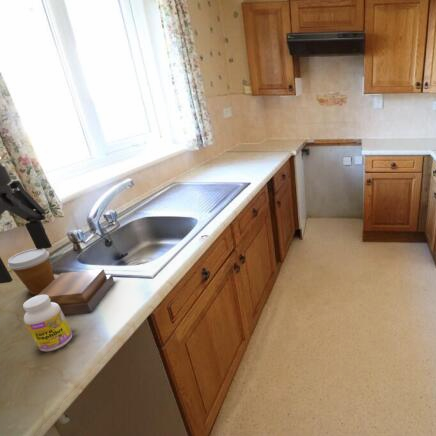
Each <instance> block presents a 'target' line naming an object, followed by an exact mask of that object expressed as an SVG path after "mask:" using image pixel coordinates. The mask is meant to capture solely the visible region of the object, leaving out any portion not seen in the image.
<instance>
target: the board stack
mask: <svg viewBox="0 0 436 436" xmlns="http://www.w3.org/2000/svg"><path fill="white" fill-rule="evenodd" d="M114 284H115V280H114V277H113V275H112V274H107V273H106V272H105V269H104V268H98V269H88V270H77V271H68V272H61V273H59V275H58V276H57V277H55V279H54V280H53V281H52V282H51V283H50V284H49V285H48V286H47V287H46V288H45V289H44V290H43V291H41V292H40V293H39V294H36V296H38V295H48V296H49V298H50V302H54V303H57V304H58V305H59V306H60V308H61V310H62V312H63V315H64V316H71V315H79V314H89V313H92V312H93V311H94V310H95V308H96V307H97V305H98V304H99V303H100V302H101V301H102V299H103V298H104V296H105V295H106V294H107V293H108V292H109V290H110V289H111V288H112V287H113V285H114Z"/></svg>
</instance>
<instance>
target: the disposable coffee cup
mask: <svg viewBox="0 0 436 436" xmlns="http://www.w3.org/2000/svg"><path fill="white" fill-rule="evenodd" d="M49 257H50V252H49V251H47V250H46V248H45V249H37V248H36V247H35V248H30V249H27V250H22V251H20V252H18V253H16V254H14V255H12V256H10V257H9V258H8V260H7V268H9V269H10V270H12V271H13V272H14V273H15V275H16V276H17V277H18V279H19V280H20V282H22V284H23V285H24V286H25V288H26V289H27V290H28V291H29V292H30V294H31V295H38V294H39V293H40V292H41V291H43V290H44V289H45V288H46V287H47V286H48V285H49V284H50V283H51V282H52V281H53V280H54V279H56V277H55V275H54V272H53V268H52V264H51V260H50V258H49Z"/></svg>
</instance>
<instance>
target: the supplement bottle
mask: <svg viewBox="0 0 436 436" xmlns="http://www.w3.org/2000/svg"><path fill="white" fill-rule="evenodd" d="M37 295H38V294H37ZM37 295H35V296H33V297H30V298H28V299H27V300H26V301H24V302H23V303H22V307H23V309H24V311H25V313H24V315H23V321H24V324H25V325H26V327H27V329H28V331H29V333H30V335H31V336H32V338H33V340H34V342H35V343H36V345H37V347H38V349H39V350H40V351H42V352H53V351H56V350H58V349H60V348H62V347H64V346H65V345H66V344H68V343H69V342H70V341H71V340H72V338H73V332H72V329H71V327H70V325H69V323H68V321H67V319H66V316H65V315H63V312H62V310H61V308H60V306H59V305H58V304H57V303H54V302H50V298H49V296H48V295H38V296H37Z"/></svg>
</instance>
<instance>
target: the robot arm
mask: <svg viewBox="0 0 436 436" xmlns="http://www.w3.org/2000/svg"><path fill="white" fill-rule="evenodd" d="M1 161H2V157H1V156H0V216H1V215H2V214H4V213H5V212H7V211H9V212H10V213H12V214H13V215H15V216H16V217H19V218H20V219H23V220H24V221H26V223H24V225H25V228H26V230H27V232H28V234H29V236H30V238H31V240H32V243H33V244H34V246H35V248H37V249H45V250H46V249H51V248H52V247H53V245H52V243H51V241H50V239H49V237H48V234H47V233H46V229H45V227H44V225H43V222H42V221H45V220H46V215H45V214H46V210H45V209H44V208H43V207H42V206H41V205H40V204H39V203H38V202H37V200H36V199H35V198H33V197H32V196H31V194H29V193H28V191H26V189H25V188H24V186H23V184H22V183H21V181H20V180H12V177H11V174H10V173H9V171H8V169H7V167H6V165H5V164H4V163H1ZM13 280H14V279H13V277H12V276H11V274H10V272H9V271H8V267H6V265H5V263H4V261H3V259H2V258H1V256H0V284H6V283H7V284H8V283H12V282H13Z"/></svg>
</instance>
